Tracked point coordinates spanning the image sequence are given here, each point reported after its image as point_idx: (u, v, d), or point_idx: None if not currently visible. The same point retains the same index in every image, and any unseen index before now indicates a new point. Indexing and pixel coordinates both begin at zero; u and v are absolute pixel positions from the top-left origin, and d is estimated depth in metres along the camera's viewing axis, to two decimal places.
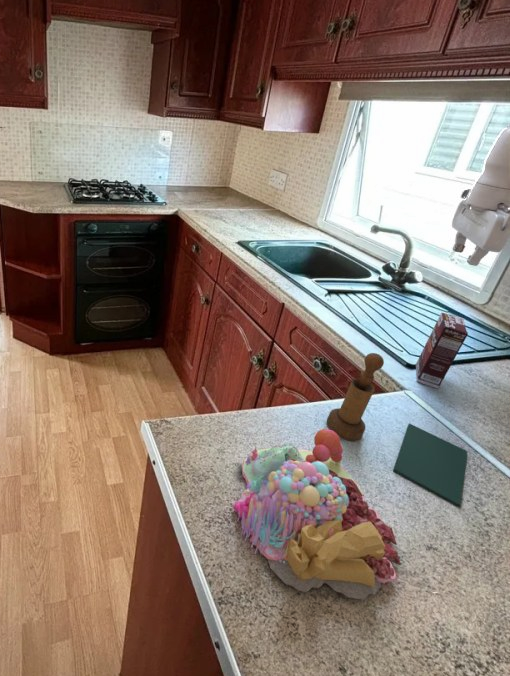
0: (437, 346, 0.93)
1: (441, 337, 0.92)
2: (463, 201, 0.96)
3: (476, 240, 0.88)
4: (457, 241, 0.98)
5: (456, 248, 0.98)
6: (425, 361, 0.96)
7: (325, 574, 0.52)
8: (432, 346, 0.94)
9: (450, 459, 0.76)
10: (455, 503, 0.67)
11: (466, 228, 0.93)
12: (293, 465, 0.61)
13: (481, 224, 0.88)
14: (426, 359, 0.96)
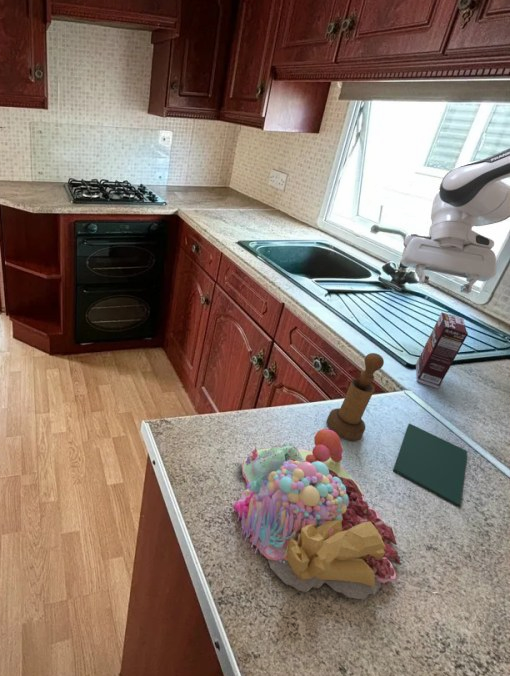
0: (437, 346, 0.93)
1: (441, 337, 0.92)
2: None
3: None
4: None
5: (461, 289, 1.02)
6: (425, 361, 0.96)
7: (325, 574, 0.52)
8: (432, 346, 0.94)
9: (450, 459, 0.76)
10: (455, 503, 0.67)
11: None
12: (293, 465, 0.61)
13: None
14: (426, 359, 0.96)
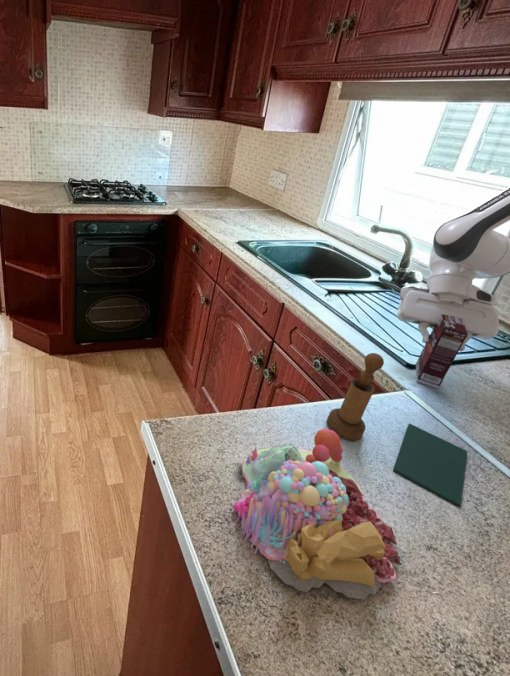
0: (437, 346, 0.93)
1: (440, 337, 0.92)
2: None
3: None
4: None
5: None
6: (425, 361, 0.96)
7: (325, 574, 0.52)
8: (432, 346, 0.94)
9: (450, 459, 0.76)
10: (455, 503, 0.67)
11: None
12: (293, 465, 0.61)
13: None
14: (426, 359, 0.96)
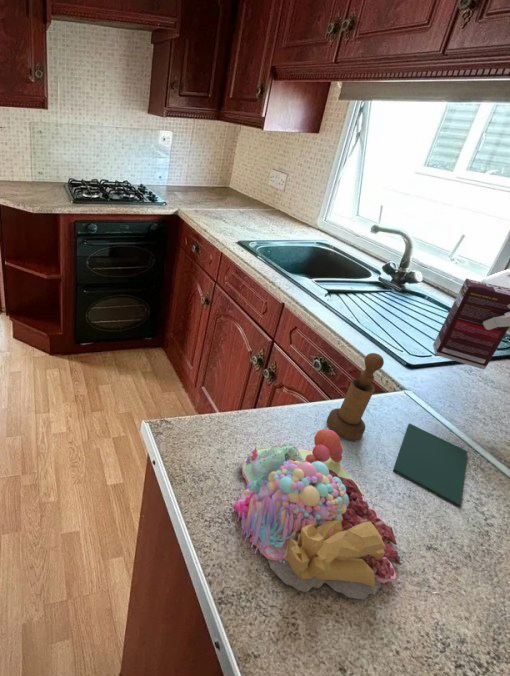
0: None
1: None
2: None
3: None
4: None
5: None
6: None
7: (325, 574, 0.52)
8: None
9: (450, 459, 0.76)
10: (455, 503, 0.67)
11: None
12: (293, 465, 0.61)
13: None
14: None
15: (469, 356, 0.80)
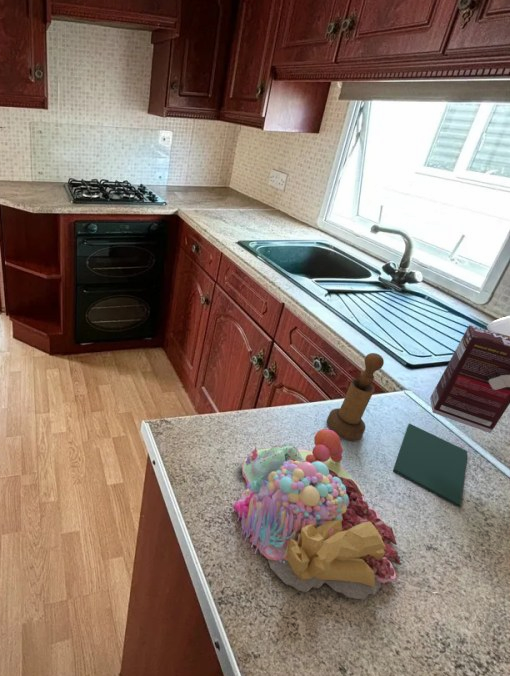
0: (455, 351, 0.69)
1: (461, 339, 0.68)
2: None
3: None
4: None
5: None
6: None
7: (325, 574, 0.52)
8: None
9: (450, 459, 0.76)
10: (455, 503, 0.67)
11: None
12: (293, 465, 0.61)
13: None
14: None
15: (472, 417, 0.67)
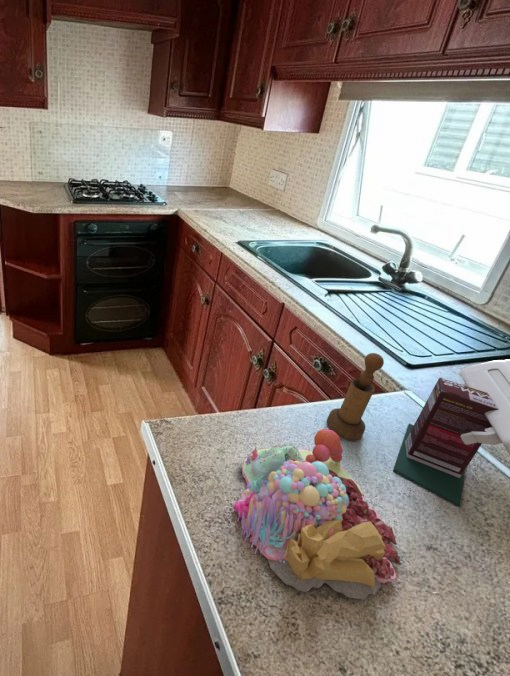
0: (427, 400, 0.73)
1: (432, 390, 0.73)
2: None
3: None
4: None
5: None
6: None
7: (325, 574, 0.52)
8: None
9: None
10: (455, 503, 0.67)
11: None
12: (293, 465, 0.61)
13: None
14: None
15: (442, 463, 0.72)
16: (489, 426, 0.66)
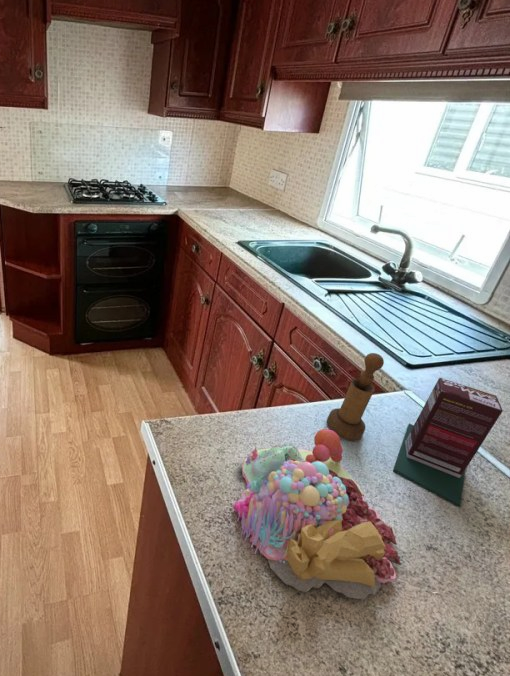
0: (427, 400, 0.73)
1: (432, 390, 0.73)
2: None
3: None
4: None
5: None
6: None
7: (325, 574, 0.52)
8: None
9: None
10: (455, 503, 0.67)
11: None
12: (293, 465, 0.61)
13: None
14: None
15: (442, 463, 0.72)
16: (489, 426, 0.66)
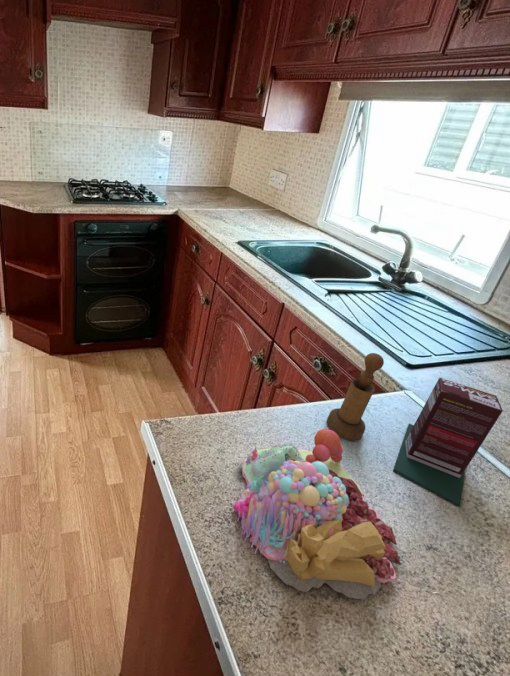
0: (427, 400, 0.73)
1: (432, 390, 0.73)
2: None
3: None
4: None
5: None
6: None
7: (325, 574, 0.52)
8: None
9: None
10: (455, 503, 0.67)
11: None
12: (293, 465, 0.61)
13: None
14: None
15: (442, 463, 0.72)
16: (489, 426, 0.66)
